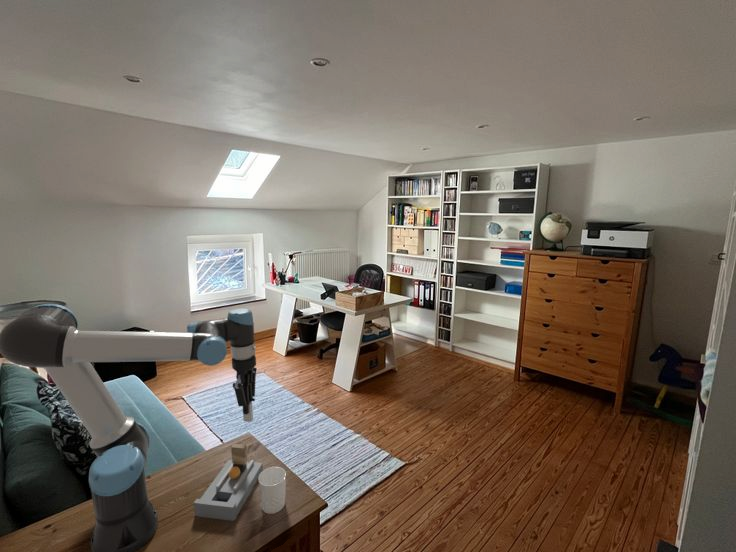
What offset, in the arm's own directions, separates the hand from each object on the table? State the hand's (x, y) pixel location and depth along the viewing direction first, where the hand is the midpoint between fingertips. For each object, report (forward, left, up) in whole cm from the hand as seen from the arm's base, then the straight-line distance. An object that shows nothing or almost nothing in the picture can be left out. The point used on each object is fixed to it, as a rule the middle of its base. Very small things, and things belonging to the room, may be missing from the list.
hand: (248, 420), depth 123 cm
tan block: (0, -7, -13) cm, 15 cm away
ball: (0, -11, -12) cm, 16 cm away
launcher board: (0, -13, -17) cm, 21 cm away
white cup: (+15, -16, -17) cm, 28 cm away
